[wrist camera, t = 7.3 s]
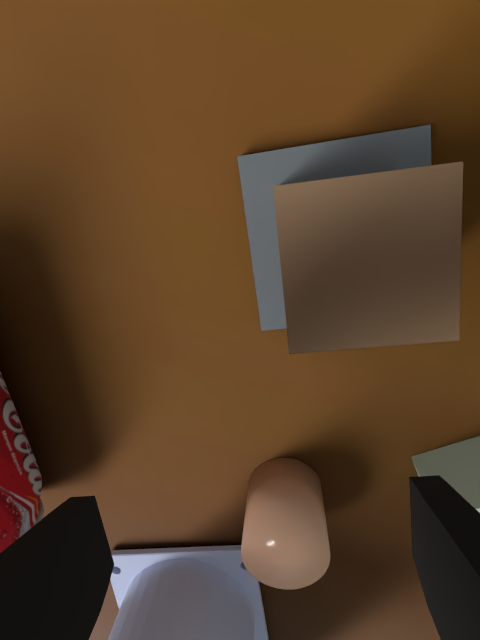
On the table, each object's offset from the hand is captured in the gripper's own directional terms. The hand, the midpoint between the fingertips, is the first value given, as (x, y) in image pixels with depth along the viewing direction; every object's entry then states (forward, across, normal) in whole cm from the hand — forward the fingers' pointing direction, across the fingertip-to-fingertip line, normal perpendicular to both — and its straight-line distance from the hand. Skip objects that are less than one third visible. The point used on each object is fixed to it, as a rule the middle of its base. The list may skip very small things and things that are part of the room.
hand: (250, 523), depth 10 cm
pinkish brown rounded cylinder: (+10, 0, +7) cm, 12 cm away
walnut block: (+9, -4, -5) cm, 11 cm away
